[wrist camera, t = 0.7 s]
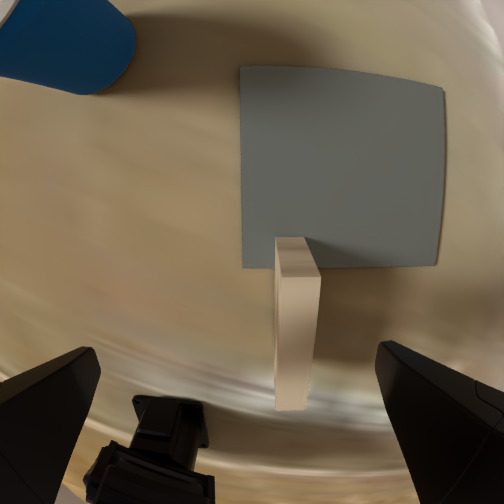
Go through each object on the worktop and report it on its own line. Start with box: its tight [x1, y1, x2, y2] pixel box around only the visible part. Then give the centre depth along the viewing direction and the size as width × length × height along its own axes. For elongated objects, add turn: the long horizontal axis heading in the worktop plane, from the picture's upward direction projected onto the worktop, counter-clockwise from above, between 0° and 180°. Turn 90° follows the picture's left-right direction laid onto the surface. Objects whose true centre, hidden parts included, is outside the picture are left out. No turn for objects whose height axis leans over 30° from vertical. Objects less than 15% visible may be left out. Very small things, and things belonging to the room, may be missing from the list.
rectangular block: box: [273, 237, 321, 411], centre depth 18 cm, size 9×2×6 cm, turn 0°
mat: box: [240, 66, 445, 268], centre depth 19 cm, size 13×14×1 cm
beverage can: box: [0, 0, 136, 95], centre depth 11 cm, size 6×6×12 cm
